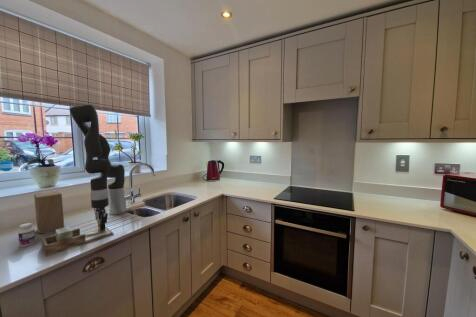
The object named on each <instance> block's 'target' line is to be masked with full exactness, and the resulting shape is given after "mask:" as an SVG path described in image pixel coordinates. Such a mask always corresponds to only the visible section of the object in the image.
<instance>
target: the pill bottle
mask: <svg viewBox="0 0 476 317" xmlns="http://www.w3.org/2000/svg"><path fill="white" fill-rule="evenodd" d="M36 239H37V238H36V231H35V227H34V226H33V223H32V222H25V223H21V224H20V225H19V230H18V244H19V247H21V248H22V247H23V248H24V247H28V246H32V245H34V244H35V243H36Z"/></svg>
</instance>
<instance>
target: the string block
mask: <svg viewBox="0 0 476 317" xmlns="http://www.w3.org/2000/svg"><path fill="white" fill-rule="evenodd" d="M97 221H98V222H97ZM103 221H104V220H103ZM96 222H97V230H98V231H96V232H93V233H90V234H86V235H85V237H86V236H89V235H92V234H96V233H101V232H104V231H105V230H103V231H101V230H100V222H99V220H98V219H97V220H96ZM72 230H73V229H72V228H71V227H70V226H64V228H60V229H56V230H55V231H54V232H55V234H56V242H58V241H62V240H65V239H69V238H72V237H73V234H72Z"/></svg>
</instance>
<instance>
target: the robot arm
mask: <svg viewBox="0 0 476 317" xmlns="http://www.w3.org/2000/svg"><path fill="white" fill-rule="evenodd" d="M69 113H70V116H71V117H72V119H73V121H74V123H75V124H76V125H77V127H78V128H79V130H80V131H81V132H82V134H83V136H84V140H83V141H84V142H83V144H84V148H85V153H86V159H85V164H84V170H85V171H86V173H88V174H89V175H90V174H91V175H93V174H94V175H95V174H99V173H100V174H99V176H95V177H93V178H91V179H90V204H91V208H92V209H94V210H93V211H94V215H95V220H96V222H97V223H98V221H97V219H98V220H99V222H100V230H101V231H103V230H105V227H106V223H108V214H110V215H120V214H123V213H125V212H127V200H126V197H125V179H126V178H125V167H124V165H123V164H120V163H118V164H116V163H111V161H110V159H109V156H110V154H111V146H110V144H109V141H108V139H107V138H106V137H105V136H103V135H102V134H100V126H99V116H98V112H97V109H96V108H95V106H94V105H93V104H88V103H86V104H81V105H75V106H71V107H70V108H69ZM87 123H90V125H88V124H87ZM94 158H95V159H94ZM108 179H115V180H114V181H113V182H110V183H109V184H108ZM106 207H108V208H109V213H107V209H106ZM103 220H104V221H103Z"/></svg>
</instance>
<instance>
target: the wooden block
mask: <svg viewBox="0 0 476 317" xmlns="http://www.w3.org/2000/svg"><path fill="white" fill-rule="evenodd" d="M33 197H34V206H35V207H34V208H35V210H34V211H35V218H36V220H35V221H36V228H37V231H38V233H39V234H40V235H43V234H47V233H51V232H53V231H54V232H55V230H56V229H60V228H64V227H65V222H64V221H65V217H64V210H63V209H64V206H63V194H62V193H61V192H60V191H59V190H55V191H48V192H40V193H34V195H33Z"/></svg>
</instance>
